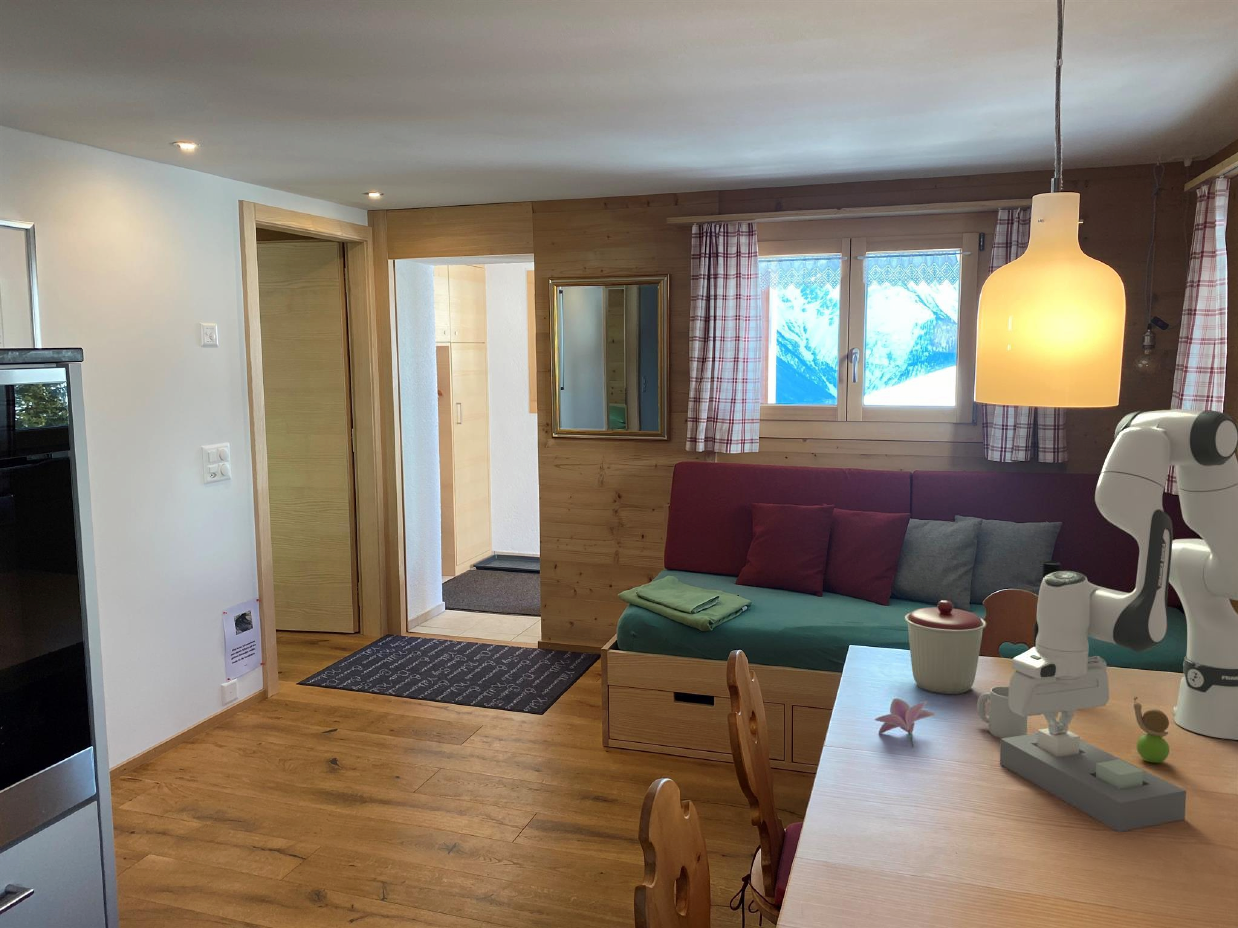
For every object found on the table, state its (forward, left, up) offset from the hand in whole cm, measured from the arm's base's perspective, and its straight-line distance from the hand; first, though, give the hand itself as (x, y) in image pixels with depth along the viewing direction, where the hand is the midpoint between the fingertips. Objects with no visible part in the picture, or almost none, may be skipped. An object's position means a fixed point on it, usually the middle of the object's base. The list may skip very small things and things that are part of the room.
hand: (1058, 732), depth 173 cm
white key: (0, 0, -5) cm, 5 cm away
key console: (0, +7, -8) cm, 11 cm away
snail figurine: (-21, +1, -8) cm, 23 cm away
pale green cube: (0, +14, -6) cm, 15 cm away
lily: (+17, -23, -8) cm, 30 cm away
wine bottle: (-33, -39, -8) cm, 52 cm away
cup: (-4, -20, -8) cm, 22 cm away
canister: (-10, -47, -8) cm, 49 cm away
